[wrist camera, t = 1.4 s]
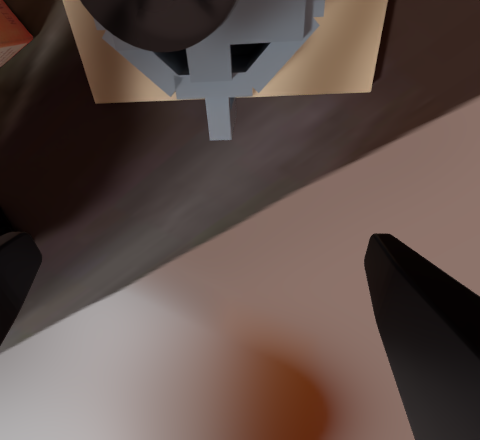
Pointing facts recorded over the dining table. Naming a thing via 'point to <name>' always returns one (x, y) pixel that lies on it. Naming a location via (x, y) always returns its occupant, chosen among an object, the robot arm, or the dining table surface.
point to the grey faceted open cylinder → (229, 57)
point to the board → (282, 84)
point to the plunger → (161, 21)
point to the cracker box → (11, 34)
